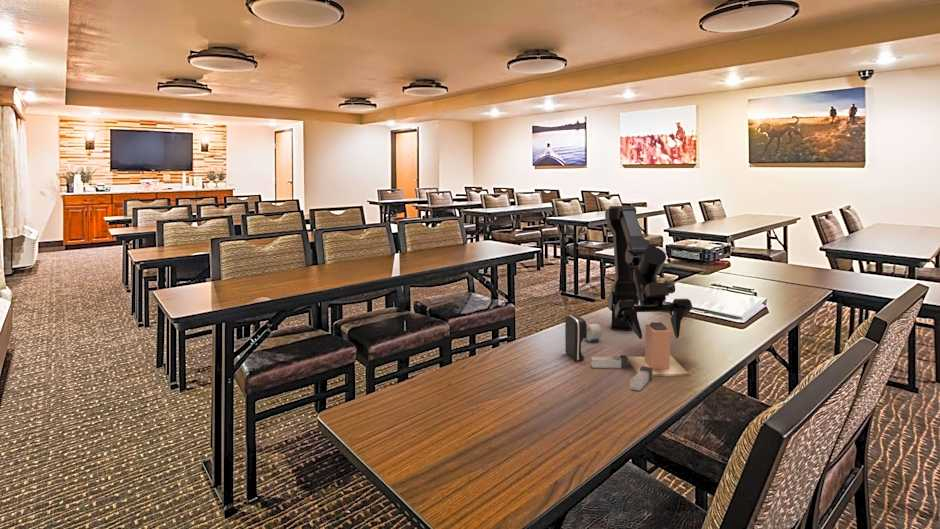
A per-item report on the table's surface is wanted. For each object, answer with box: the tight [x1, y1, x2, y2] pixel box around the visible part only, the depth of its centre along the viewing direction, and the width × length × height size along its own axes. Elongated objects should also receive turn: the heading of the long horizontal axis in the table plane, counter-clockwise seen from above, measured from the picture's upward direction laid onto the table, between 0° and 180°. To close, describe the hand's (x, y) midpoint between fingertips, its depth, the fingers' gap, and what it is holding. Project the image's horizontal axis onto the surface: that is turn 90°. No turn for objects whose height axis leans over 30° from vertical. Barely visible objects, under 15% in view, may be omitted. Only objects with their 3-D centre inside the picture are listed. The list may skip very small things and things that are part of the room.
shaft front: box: [629, 366, 653, 392], centre depth 127 cm, size 9×3×3 cm, turn 144°
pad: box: [627, 355, 690, 377], centre depth 136 cm, size 12×12×1 cm
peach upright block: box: [644, 322, 672, 369], centre depth 135 cm, size 6×4×11 cm
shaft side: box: [590, 354, 629, 370], centre depth 137 cm, size 9×3×3 cm, turn 84°
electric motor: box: [585, 323, 602, 343], centre depth 157 cm, size 7×5×5 cm
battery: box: [564, 314, 588, 361], centre depth 144 cm, size 7×4×11 cm, turn 14°
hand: (659, 338), depth 133 cm, fingers open, 9 cm apart
